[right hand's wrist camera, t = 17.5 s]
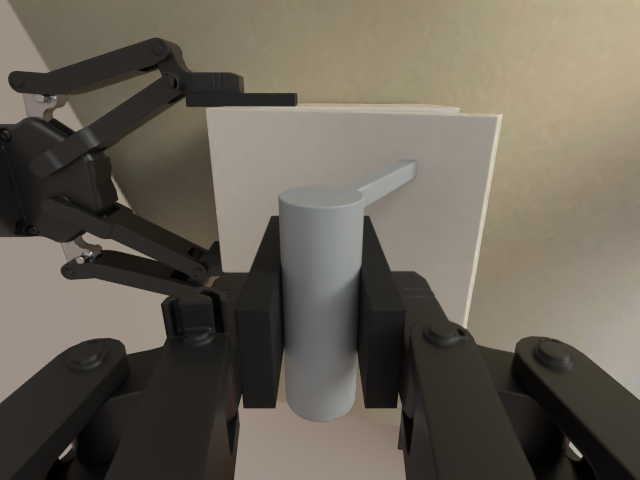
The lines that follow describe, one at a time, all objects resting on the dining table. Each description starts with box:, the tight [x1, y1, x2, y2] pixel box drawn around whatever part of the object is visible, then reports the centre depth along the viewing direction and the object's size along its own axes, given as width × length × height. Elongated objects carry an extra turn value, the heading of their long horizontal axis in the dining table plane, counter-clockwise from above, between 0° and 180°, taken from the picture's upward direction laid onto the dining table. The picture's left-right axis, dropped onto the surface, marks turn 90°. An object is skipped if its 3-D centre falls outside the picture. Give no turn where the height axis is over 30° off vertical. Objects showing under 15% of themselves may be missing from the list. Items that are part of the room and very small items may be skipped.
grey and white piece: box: [206, 107, 503, 422], centre depth 16 cm, size 14×10×10 cm
